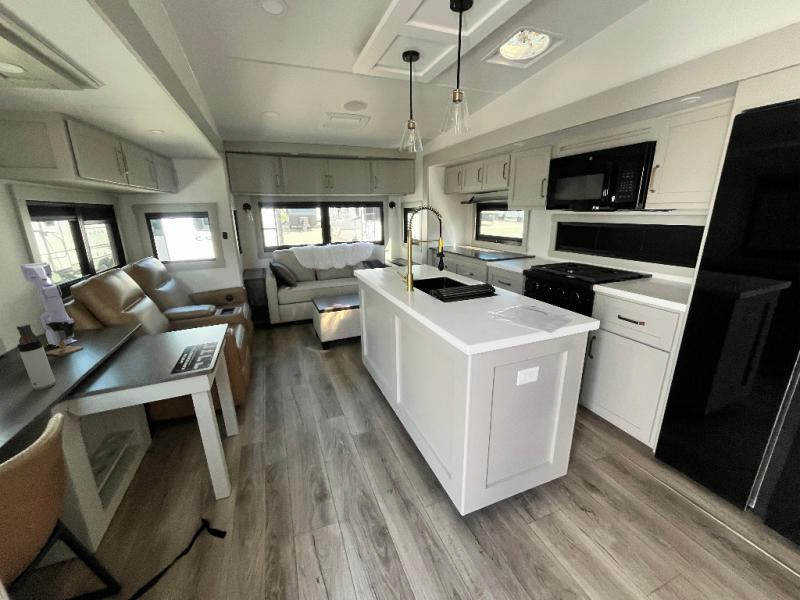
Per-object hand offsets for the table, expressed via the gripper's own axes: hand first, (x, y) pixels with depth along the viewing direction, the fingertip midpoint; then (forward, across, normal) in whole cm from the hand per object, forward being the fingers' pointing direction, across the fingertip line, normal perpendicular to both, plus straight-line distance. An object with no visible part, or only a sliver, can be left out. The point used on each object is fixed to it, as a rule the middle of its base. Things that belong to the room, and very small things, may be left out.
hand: (65, 335), depth 162 cm
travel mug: (+8, +30, -29) cm, 42 cm away
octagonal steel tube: (+1, 0, 0) cm, 1 cm away
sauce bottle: (+8, +3, -15) cm, 18 cm away
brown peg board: (+8, -2, -2) cm, 9 cm away
